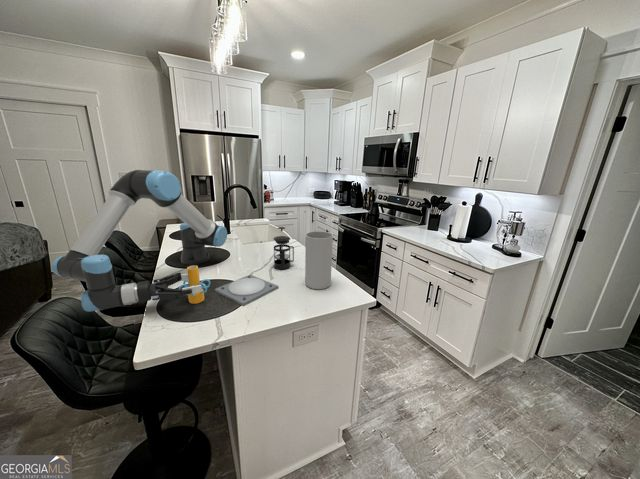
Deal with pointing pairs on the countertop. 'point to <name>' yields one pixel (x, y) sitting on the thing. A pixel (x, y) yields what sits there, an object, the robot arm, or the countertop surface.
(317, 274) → the cylinder vase
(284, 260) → the french press
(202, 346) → the countertop surface
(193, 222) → the robot arm
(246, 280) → the grey plate with disc
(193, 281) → the orange ringed tube
